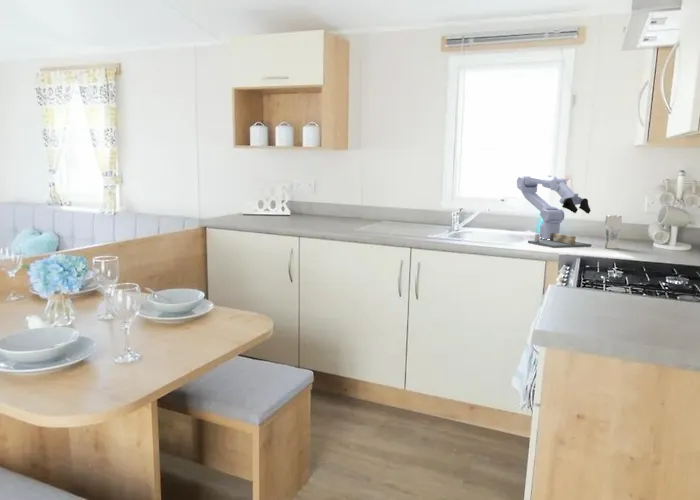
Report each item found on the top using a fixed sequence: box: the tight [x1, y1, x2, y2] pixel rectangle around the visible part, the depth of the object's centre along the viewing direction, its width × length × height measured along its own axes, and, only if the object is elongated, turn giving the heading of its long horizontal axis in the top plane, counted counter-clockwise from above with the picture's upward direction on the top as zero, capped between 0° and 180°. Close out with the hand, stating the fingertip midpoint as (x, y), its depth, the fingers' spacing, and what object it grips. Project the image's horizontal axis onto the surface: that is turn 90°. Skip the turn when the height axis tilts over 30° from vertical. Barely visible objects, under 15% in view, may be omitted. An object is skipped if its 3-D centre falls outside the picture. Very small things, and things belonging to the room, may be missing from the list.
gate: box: [550, 233, 577, 244], centre depth 263 cm, size 16×2×4 cm, turn 20°
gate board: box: [527, 233, 592, 249], centre depth 263 cm, size 18×22×5 cm
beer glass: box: [603, 214, 623, 250], centre depth 253 cm, size 7×7×15 cm
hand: (582, 211), depth 260 cm, fingers open, 7 cm apart
